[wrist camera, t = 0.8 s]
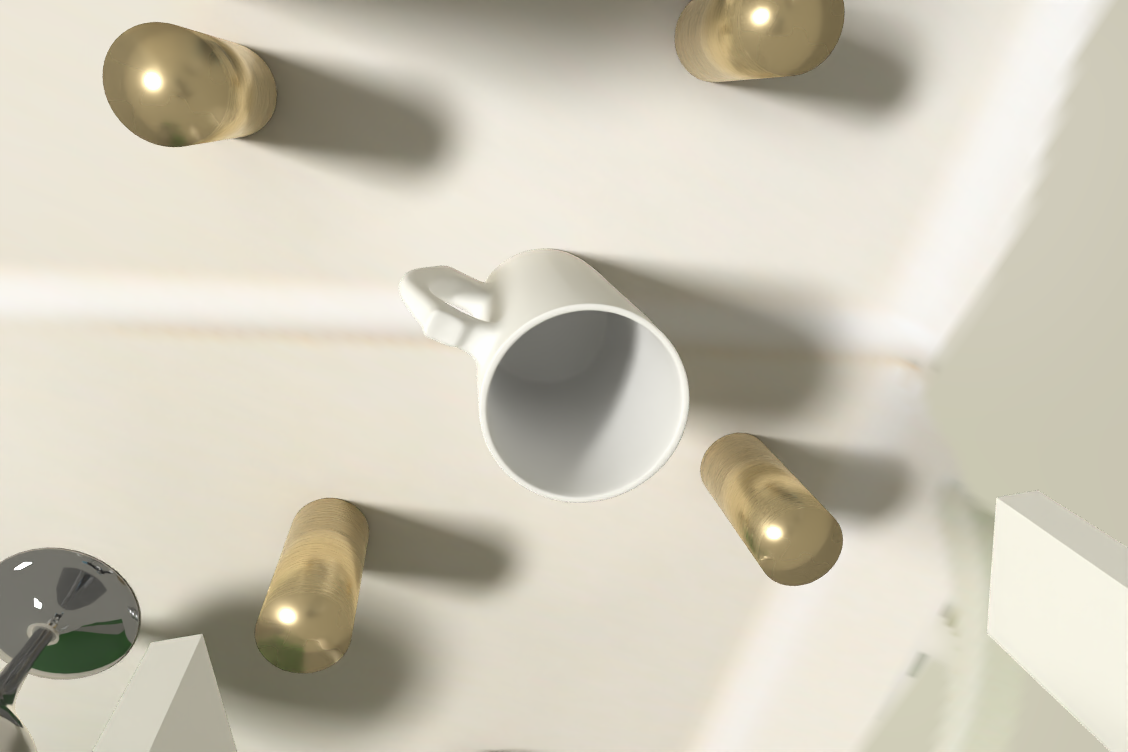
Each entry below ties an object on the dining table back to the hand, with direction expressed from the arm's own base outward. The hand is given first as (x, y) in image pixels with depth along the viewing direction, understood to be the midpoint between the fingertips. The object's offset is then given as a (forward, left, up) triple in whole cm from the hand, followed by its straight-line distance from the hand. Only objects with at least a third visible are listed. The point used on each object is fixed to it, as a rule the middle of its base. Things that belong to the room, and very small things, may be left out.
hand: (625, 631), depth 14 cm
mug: (0, 0, -25) cm, 25 cm away
